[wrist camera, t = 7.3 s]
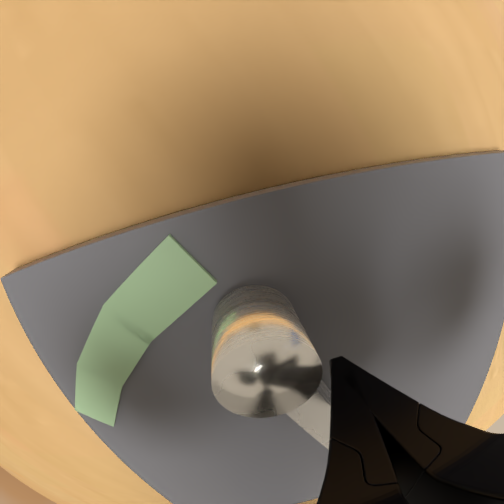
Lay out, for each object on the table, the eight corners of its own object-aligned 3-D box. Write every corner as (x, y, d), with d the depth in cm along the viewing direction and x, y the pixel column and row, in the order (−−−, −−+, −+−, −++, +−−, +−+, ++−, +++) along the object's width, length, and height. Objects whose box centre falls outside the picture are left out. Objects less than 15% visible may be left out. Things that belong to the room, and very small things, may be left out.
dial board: (456, 419, 16) (464, 428, 15) (192, 506, 15) (192, 519, 14) (498, 150, 10) (517, 152, 8) (16, 268, 9) (-3, 280, 7)
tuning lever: (398, 443, 13) (416, 473, 10) (349, 471, 13) (362, 503, 10) (281, 258, 8) (310, 302, 5) (182, 323, 8) (171, 384, 6)
